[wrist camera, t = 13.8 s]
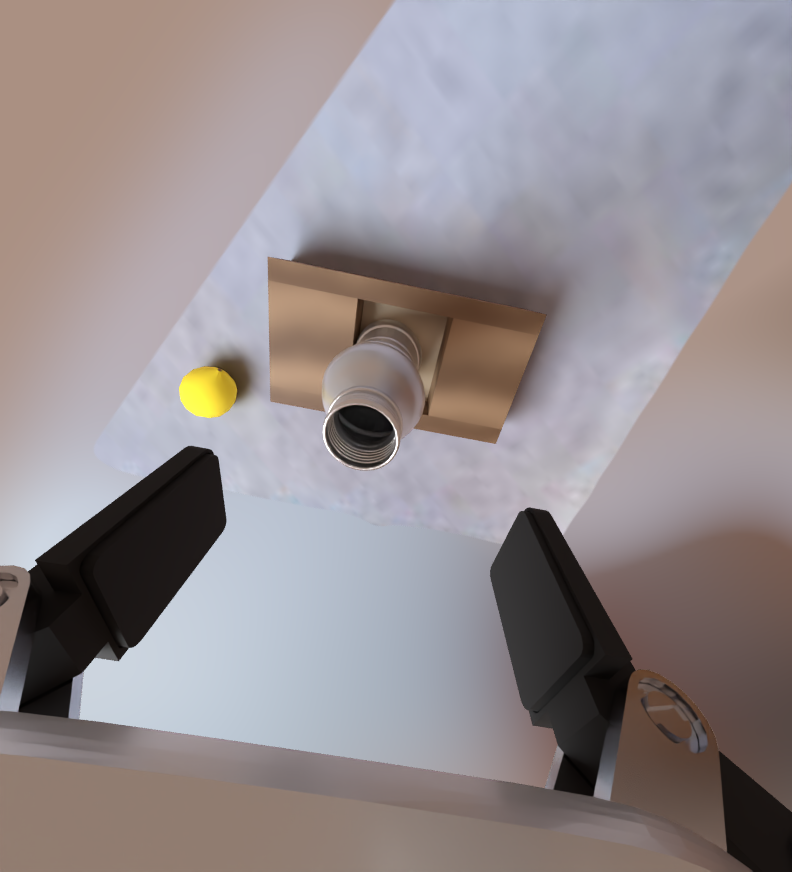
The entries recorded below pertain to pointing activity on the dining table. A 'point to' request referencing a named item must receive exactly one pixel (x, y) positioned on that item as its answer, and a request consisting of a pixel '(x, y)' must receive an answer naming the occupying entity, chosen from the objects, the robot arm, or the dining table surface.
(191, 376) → the lemon
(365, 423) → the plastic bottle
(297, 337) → the brown slotted block
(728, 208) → the dining table surface
